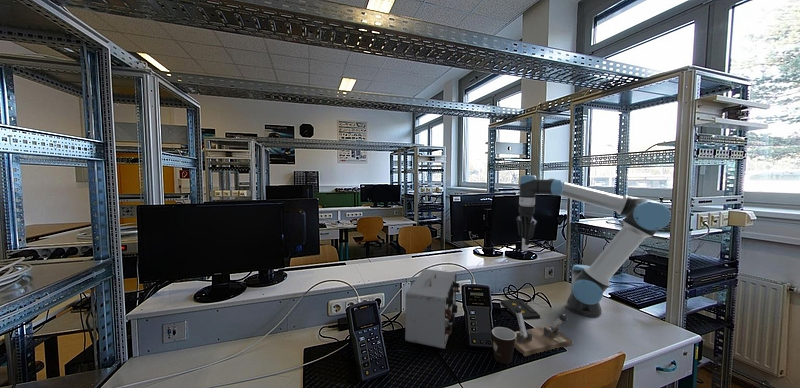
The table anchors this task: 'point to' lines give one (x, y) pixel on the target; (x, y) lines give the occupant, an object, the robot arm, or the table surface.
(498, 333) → the coffee mug
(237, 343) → the table surface
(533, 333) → the switch base
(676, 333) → the table surface
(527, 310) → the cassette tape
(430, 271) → the vintage electronic device
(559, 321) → the lever
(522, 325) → the lever
